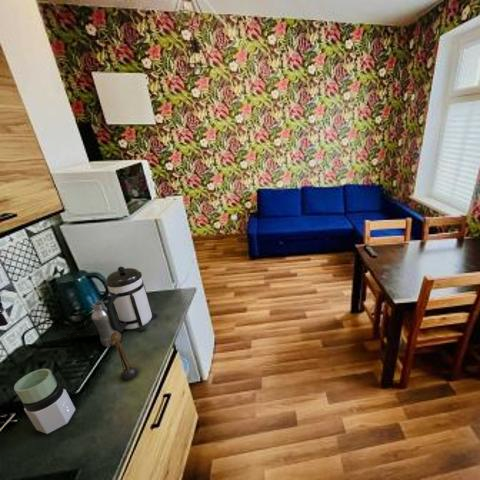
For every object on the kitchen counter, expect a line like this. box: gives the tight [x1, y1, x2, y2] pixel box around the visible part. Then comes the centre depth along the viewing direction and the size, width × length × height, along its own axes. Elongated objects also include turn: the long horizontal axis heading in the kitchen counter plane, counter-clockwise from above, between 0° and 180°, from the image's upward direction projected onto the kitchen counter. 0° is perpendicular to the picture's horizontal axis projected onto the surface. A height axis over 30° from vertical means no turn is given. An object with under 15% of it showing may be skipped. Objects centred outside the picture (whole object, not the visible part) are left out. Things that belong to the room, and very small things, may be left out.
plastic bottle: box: [91, 300, 119, 348], centre depth 108 cm, size 6×7×20 cm
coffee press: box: [104, 266, 157, 333], centre depth 116 cm, size 17×16×30 cm
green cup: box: [13, 368, 57, 404], centre depth 77 cm, size 7×7×6 cm
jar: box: [21, 380, 76, 435], centre depth 80 cm, size 9×8×12 cm
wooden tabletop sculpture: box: [110, 331, 138, 382], centre depth 93 cm, size 6×5×20 cm
